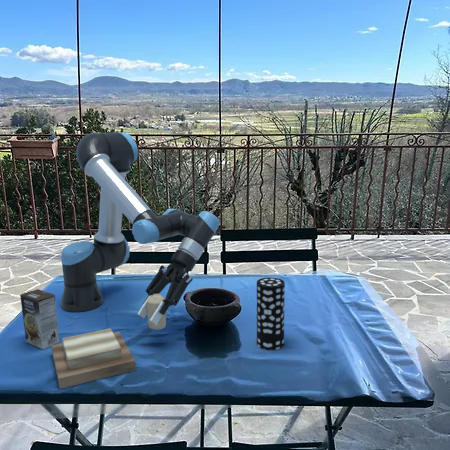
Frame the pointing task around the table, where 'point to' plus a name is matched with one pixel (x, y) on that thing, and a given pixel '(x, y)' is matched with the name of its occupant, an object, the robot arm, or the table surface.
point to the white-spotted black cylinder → (270, 313)
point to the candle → (151, 308)
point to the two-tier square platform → (91, 357)
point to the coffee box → (40, 318)
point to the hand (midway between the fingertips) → (146, 319)
